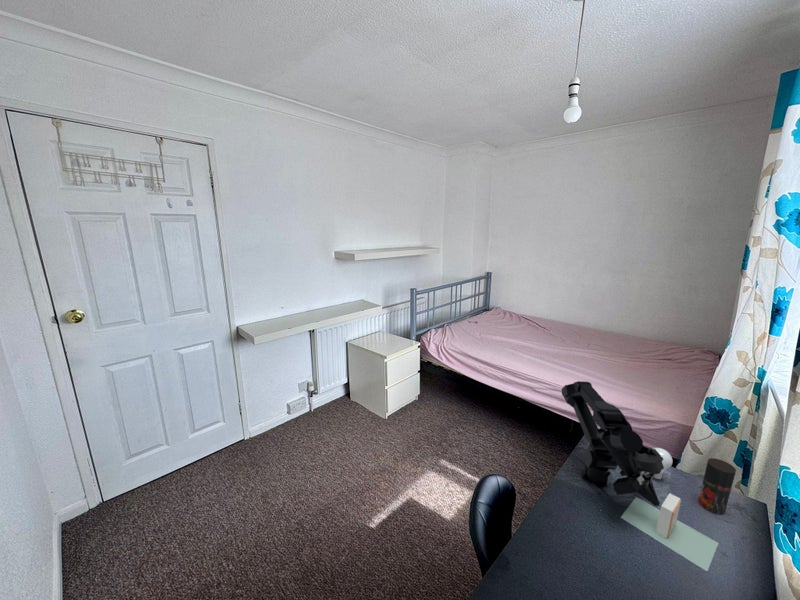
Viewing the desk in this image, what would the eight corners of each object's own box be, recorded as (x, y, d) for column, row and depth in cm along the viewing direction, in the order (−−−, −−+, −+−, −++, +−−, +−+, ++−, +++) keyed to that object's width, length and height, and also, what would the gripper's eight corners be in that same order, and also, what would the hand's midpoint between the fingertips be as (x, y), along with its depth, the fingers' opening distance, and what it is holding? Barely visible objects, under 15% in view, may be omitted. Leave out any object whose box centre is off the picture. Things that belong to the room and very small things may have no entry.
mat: (620, 518, 95) (620, 517, 95) (635, 498, 102) (636, 496, 102) (706, 573, 80) (707, 571, 80) (718, 544, 87) (718, 543, 87)
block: (655, 532, 90) (661, 505, 88) (664, 518, 94) (669, 493, 92) (667, 539, 88) (673, 512, 86) (675, 525, 92) (681, 499, 90)
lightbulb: (644, 479, 109) (650, 451, 106) (644, 468, 114) (649, 441, 112) (669, 488, 105) (675, 459, 103) (667, 475, 111) (673, 448, 108)
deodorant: (730, 517, 95) (741, 474, 91) (706, 514, 96) (717, 471, 93) (715, 500, 100) (725, 459, 97) (693, 498, 102) (702, 457, 98)
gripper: (631, 457, 87) (675, 521, 81) (657, 431, 97) (697, 485, 91) (596, 465, 95) (634, 523, 89) (623, 440, 105) (659, 491, 99)
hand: (657, 505), depth 92 cm, fingers closed
